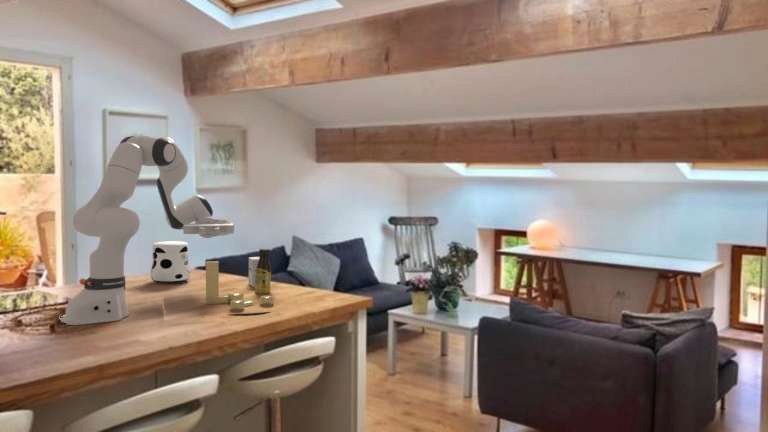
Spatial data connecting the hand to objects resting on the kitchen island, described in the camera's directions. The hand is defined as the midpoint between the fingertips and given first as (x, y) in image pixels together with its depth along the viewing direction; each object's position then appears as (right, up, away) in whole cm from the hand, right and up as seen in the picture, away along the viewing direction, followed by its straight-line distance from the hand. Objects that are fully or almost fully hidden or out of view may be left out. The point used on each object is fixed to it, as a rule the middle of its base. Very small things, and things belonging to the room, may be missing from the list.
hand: (210, 230), depth 254 cm
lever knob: (+8, -27, -10) cm, 30 cm away
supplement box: (+12, -26, +35) cm, 45 cm away
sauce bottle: (+19, -28, +12) cm, 36 cm away
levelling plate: (+17, -29, -13) cm, 37 cm away
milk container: (-29, -25, +39) cm, 54 cm away
